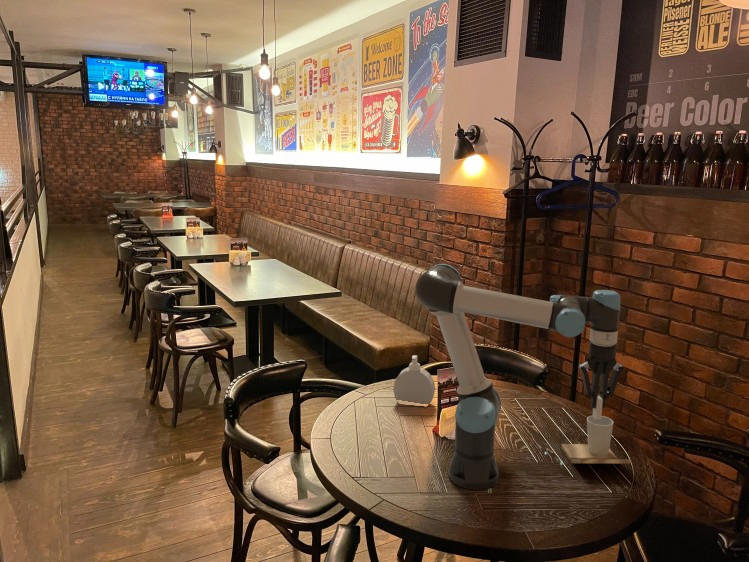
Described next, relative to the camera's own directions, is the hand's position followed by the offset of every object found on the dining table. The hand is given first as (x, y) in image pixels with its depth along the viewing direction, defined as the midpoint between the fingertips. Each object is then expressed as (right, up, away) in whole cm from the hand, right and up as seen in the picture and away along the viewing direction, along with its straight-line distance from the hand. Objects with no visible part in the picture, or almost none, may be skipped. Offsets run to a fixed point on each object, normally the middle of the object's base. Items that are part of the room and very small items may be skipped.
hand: (596, 417), depth 169 cm
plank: (+3, -15, +5) cm, 16 cm away
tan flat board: (+3, -16, +15) cm, 22 cm away
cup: (+6, -16, +14) cm, 22 cm away
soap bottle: (-51, -8, +54) cm, 75 cm away
